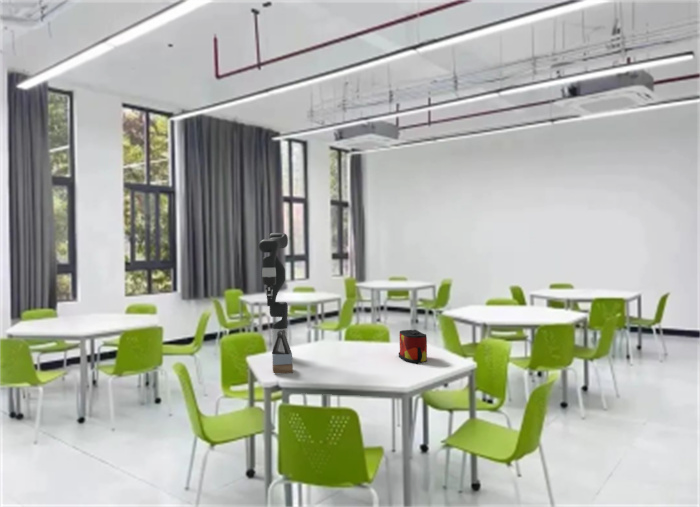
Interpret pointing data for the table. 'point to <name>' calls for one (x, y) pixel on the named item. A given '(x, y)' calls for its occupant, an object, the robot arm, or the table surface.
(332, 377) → the table surface
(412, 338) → the bag
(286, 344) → the phone stand
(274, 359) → the tower top
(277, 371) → the tower bottom
